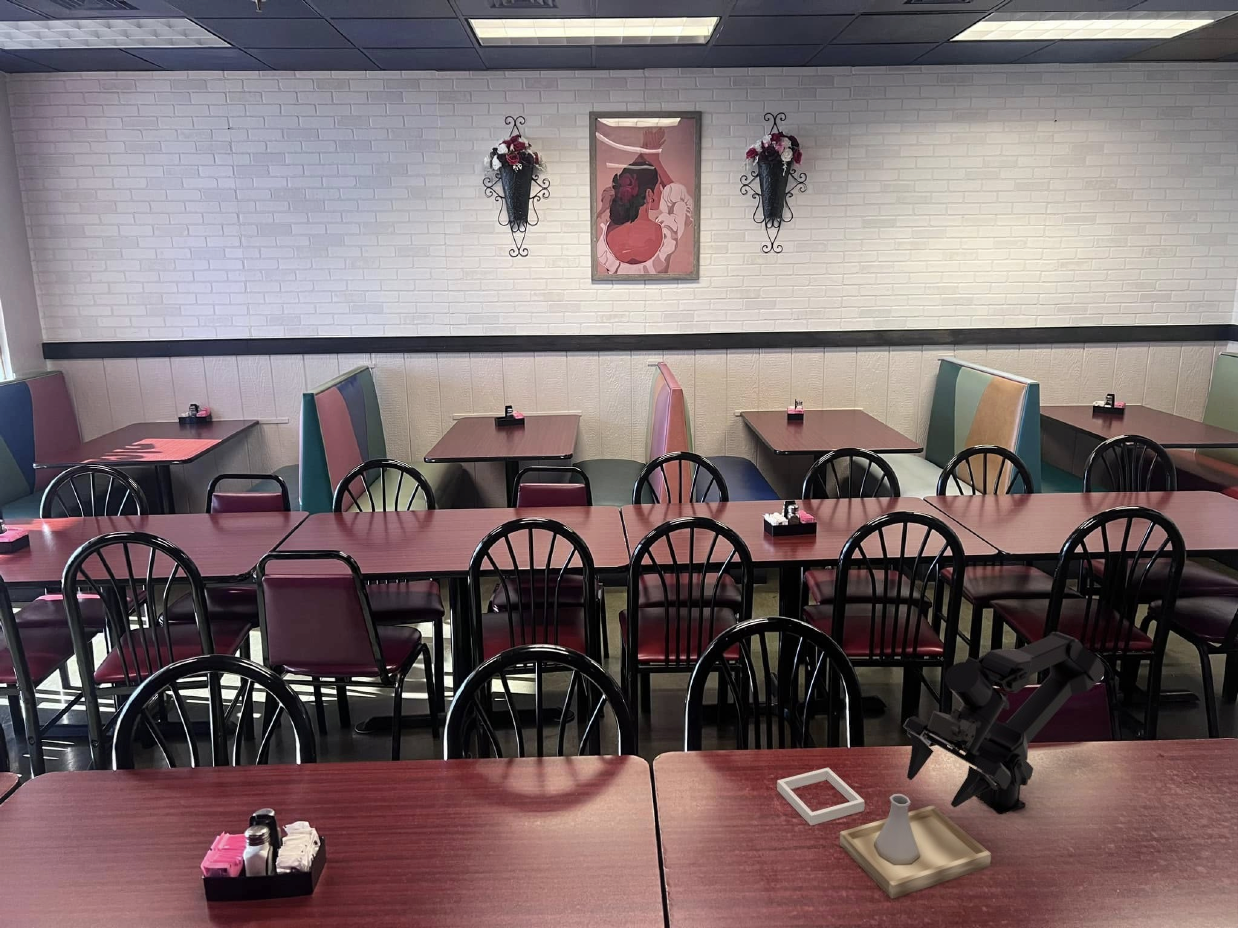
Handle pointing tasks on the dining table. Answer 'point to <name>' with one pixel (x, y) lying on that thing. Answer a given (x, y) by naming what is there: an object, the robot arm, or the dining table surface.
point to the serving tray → (939, 848)
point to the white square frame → (825, 814)
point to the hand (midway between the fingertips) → (930, 792)
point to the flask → (897, 834)
